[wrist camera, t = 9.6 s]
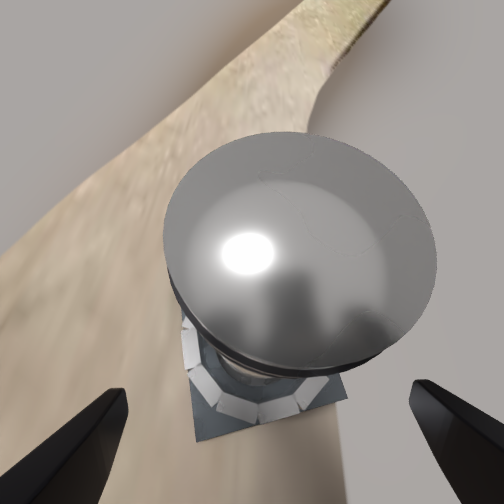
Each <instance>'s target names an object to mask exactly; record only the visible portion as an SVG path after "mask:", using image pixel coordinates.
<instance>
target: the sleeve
mask: <svg viewBox="0 0 504 504" xmlns="http://www.w3.org/2000/svg"><path fill="white" fill-rule="evenodd" d="M181 311H182V320H183V324H182V327H183V329H184V330H182V331H181V337H182V347H183V356H184V365H185V370H188V374H187V375H188V377H189V382H190V391H191V400H192V409H193V418H194V427H195V436H196V442H199V441H203V440H206V439H210V438H213V437H217V436H220V435H224V434H227V433H230V432H234V431H237V430H241V429H244V428H248V427H251V426H255V425H258V424H260V425H261V424H265V423H268V422H272V421H275V420H278V419H282V418H285V417H289V416H292V415H296V414H299V413H300V412H303V411H306V410H310V409H313V408H317V407H320V406H323V405H327V404H330V403H334V402H337V401H341V400H344V399H347V398H348V397H347V394H346V391H345V389H344V386H343V383H342V380H341V377H340V374H339V373H337V374H333V375H329V376H320V377H309V378H298V379H280V380H279V381H277V382H275V383H272V384H269V385H265V386H251V385H246V384H243V383H241V382H239V381H237V380H235V379H234V378H233V377H231V376H230V375H229V374H228V373H227V372H226V371H225V370H224V368H223V367H222V365H221V364H220V362H219V360H218V357H217V354H216V351H215V350H214V349H213V348H212V347H211V346H210V345H209V344H208V343H207V342H206V340H205V339H204V338H203V337H202V335H201V334H200V333H199V332H198V331H197V329H196V328H195V327H194V326H193V324H192V323H191V322H190V320H189V319H188V318H187V317H186V315H185V313H184V312H183V310H182V308H181Z"/></svg>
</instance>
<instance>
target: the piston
mask: <svg viewBox="0 0 504 504" xmlns="http://www.w3.org/2000/svg"><path fill="white" fill-rule="evenodd" d="M163 243H164V253H165V258H166V262H167V269H168V273H169V278H170V282H171V286H172V288H173V291H174V294H175V296H176V299H177V301H178V303H179V305H180V306H181V308H182V310H183V312H184V313H185V315H186V317H187V318H188V319H189V320H190V322H191V323H192V324H193V326H194V327H195V328H196V329H197V331H198V332H199V333H200V334H201V335H202V337H203V338H204V339H205V340H206V342H207V343H208V344H209V345H210V346H211V347H212V348H213V349H214V350H215V351H216V354H217V357H218V360H219V362H220V364H221V365H222V367H223V368H224V370H225V371H226V372H227V373H228V374H229V375H230V376H231V377H233V378H234V379H235V380H237V381H239V382H241V383H243V384H246V385H251V386H265V385H269V384H272V383H275V382H277V381H279V380H280V379H298V378H309V377H320V376H329V375H333V374H337V373H341V372H345V371H348V370H350V369H353V368H355V367H357V366H360V365H362V364H364V363H366V362H368V361H369V360H371V359H372V358H374V357H376V356H377V355H379V354H380V353H381V352H382V351H383V350H385V349H386V348H388V347H389V346H391V345H393V344H394V343H395V342H397V341H398V340H399V339H400V338H402V337H403V336H404V335H405V334H406V333H407V332H408V331H409V330H410V329H411V328H412V327H413V326H414V324H415V323H416V321H417V320H418V319H419V318H420V317H421V315H422V313H423V311H424V309H425V308H426V306H427V304H428V302H429V299H430V297H431V294H432V290H433V287H434V283H435V277H436V270H437V263H436V262H437V258H436V248H435V242H434V237H433V234H432V231H431V227H430V224H429V222H428V220H427V217H426V215H425V213H424V211H423V209H422V207H421V206H420V204H419V203H418V201H417V199H416V198H415V196H414V195H413V194H412V193H411V191H410V190H409V189H408V188H407V186H406V185H405V184H404V183H403V182H402V181H401V180H400V179H399V178H398V177H397V176H396V175H395V174H394V173H393V172H392V171H390V170H389V169H388V168H387V167H386V166H384V165H383V164H382V163H380V162H379V161H377V160H376V159H374V158H373V157H371V156H370V155H368V154H366V153H364V152H363V151H361V150H359V149H357V148H355V147H352V146H350V145H348V144H346V143H343V142H340V141H337V140H334V139H331V138H327V137H323V136H319V135H313V134H308V133H299V132H271V133H262V134H257V135H252V136H247V137H244V138H241V139H238V140H235V141H232V142H230V143H228V144H225V145H223V146H221V147H219V148H218V149H216V150H214V151H212V152H210V153H209V154H208V155H206V156H205V157H204V158H202V159H201V160H200V161H198V162H197V163H196V164H195V165H194V166H193V167H192V168H191V169H190V170H189V171H188V172H187V174H186V175H185V176H184V177H183V179H182V180H181V181H180V183H179V184H178V186H177V188H176V189H175V191H174V193H173V195H172V198H171V200H170V202H169V205H168V208H167V212H166V216H165V220H164V230H163Z"/></svg>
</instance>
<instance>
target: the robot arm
mask: <svg viewBox="0 0 504 504" xmlns="http://www.w3.org/2000/svg"><path fill="white" fill-rule="evenodd" d="M409 405H410V407H411V410H412V412H413V414H414V416H415V418H416V420H417V422H418V424H419V426H420V428H421V430H422V432H423V435H424V436H425V439H426V441H427V443H428V445H429V447H430V449H431V451H432V453H433V455H434V457H435V459H436V461H437V463H438V464H439V466H440V468H441V470H442V471H443V473H444V475H445V477H446V478H447V480H448V482H449V483H450V485H451V487H452V488H453V490H454V492H455V493H456V495H457V497H458V499H459V500H460V502H461V503H462V504H504V424H503V423H501V422H499V421H498V420H496V419H494V418H493V417H491V416H489V415H488V414H486V413H484V412H483V411H481V410H479V409H477V408H476V407H474V406H472V405H471V404H469V403H467V402H466V401H464V400H462V399H461V398H459V397H457V396H456V395H454V394H452V393H451V392H449V391H447V390H445V389H443V388H442V387H440V386H439V385H437V384H435V383H434V382H432V381H430V380H426V379H424V380H415V381H414V382H413V385H412V389H411V393H410V397H409ZM127 417H128V403H127V397H126V392H125V389H124V388H110V389H108V390H107V391H106V392H104V393H103V394H102V395H101V396H99V397H98V398H97V399H96V400H94V401H93V402H92V403H91V404H89V405H88V406H87V407H86V408H85V409H83V410H82V411H81V412H80V413H78V414H77V415H76V416H75V417H73V418H72V419H71V420H70V421H68V422H67V423H66V424H65V425H64V426H62V427H61V428H60V429H59V430H57V431H56V432H55V433H54V434H52V435H51V436H50V437H49V438H47V439H46V440H45V441H44V442H43V443H41V444H40V445H39V446H38V447H36V448H35V449H34V450H33V451H31V452H30V453H29V454H28V455H26V456H25V457H24V458H23V459H22V460H20V461H19V462H18V463H17V464H15V465H14V466H13V467H12V468H10V469H9V470H8V471H7V472H5V473H4V474H3V475H2V476H1V477H0V504H98V502H99V499H100V497H101V495H102V492H103V490H104V487H105V485H106V482H107V480H108V477H109V474H110V471H111V468H112V465H113V462H114V458H115V455H116V452H117V449H118V446H119V443H120V439H121V436H122V433H123V430H124V427H125V423H126V420H127Z"/></svg>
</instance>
